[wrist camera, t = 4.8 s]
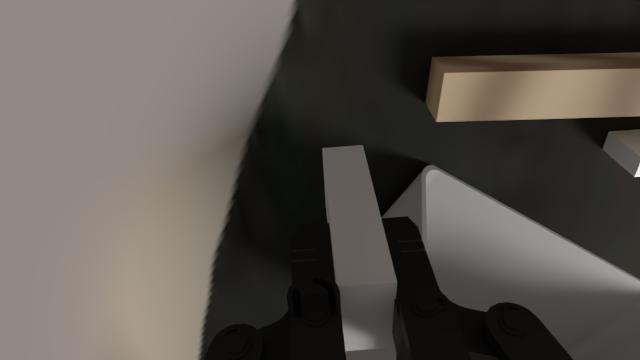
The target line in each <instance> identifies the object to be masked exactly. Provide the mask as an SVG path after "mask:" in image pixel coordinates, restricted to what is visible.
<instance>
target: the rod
mask: <svg viewBox="0 0 640 360" xmlns="http://www.w3.org/2000/svg"><path fill="white" fill-rule="evenodd" d="M426 105H427V107H428V108H429V110H430V112H431V114H432V115H433V117H434V119H435V120H436V122H453V121H489V120H525V119H561V118H597V117H633V116H640V52H634V53H589V54H544V55H498V56H453V57H432V61H431V68H430V75H429V82H428V89H427V96H426Z"/></svg>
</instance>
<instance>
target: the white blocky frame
mask: <svg viewBox="0 0 640 360" xmlns="http://www.w3.org/2000/svg"><path fill="white" fill-rule="evenodd" d="M603 150H604V151H605V152H606V153H608V154H609V155H610V156H611V157H612V158H613V159H614V160H616V161H617V162H618V163H619V164H620V165H621V166H622V167H624V168H625V169H626V170H627V171H628V172H629V173H630V174H632V175H633V176H634V177H640V129H635V130H622V131H609V132H608V135H607V138H606V141H605V144H604V146H603Z"/></svg>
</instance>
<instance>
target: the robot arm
mask: <svg viewBox="0 0 640 360" xmlns="http://www.w3.org/2000/svg"><path fill="white" fill-rule="evenodd" d="M322 153H323V170H324V186H325V202H326V214H327V223H325V224H312V225H298V227H297V229H296V231H295V233H294V234H293V236H292V285H291V286H290V287H289V289H288V293H287V302H288V308H289V310H288V312H287V313H286V314H285V315H284V316H283V317H282V318H281V319H280V320H278V321H277V322H275V323H273V324H271V325H268V326H265V327H263V328H260V329H258V330H257V329H256V328H255V327H253V326H250V325H247V324H234V325H231V326H229V327H226V328H224V329H223V330H222V331H220V332H219V333H218V334H216V336H215V337H214V339H213V340H212V342H211V344H210V346H209V348H208V350H207V353H206V355H205V357H204V360H346V353H345V351H355V350H368V349H380V348H393V339H394V344H395V349H396V353H397V354H396V360H573V358H572V357H571V356H570V355H569V354H568V353H567V351H566V350H565V349H564V348H563V347H562V345H561V344H560V343H559V342H558V341H557V340H556V338H555V337H554V336H553V335H552V334H551V333H550V331H549V330H548V329H547V328H546V327H545V325H544V324H543V323H542V322H541V321H540V320H539V318H538V317H537V316H536V315H535V314H533V313H532V312H531V311H530V310H529V309H527V308H525V307H523V306H521V305H519V304H515V303H510V302H503V303H497V304H495V305H493V306H491V307H490V308H489V309H488V311H487V312H484V311H479V310H474V309H469V308H465V307H462V306H459V305H457V304H455V303H453V302H452V301H450V300H449V299H448V298H447V297H446V296H445V295H444V294H443V293H442V292H441V290H440V288H439V286H438V284H437V281H436V278H435V275H434V272H433V269H432V266H431V263H430V261H429V258H428V255H427V252H426V251H425V246H424V243H423V241H422V237H421V235H420V232H419V229H418V226H417V225H416V224H415V223H414V222H413V221H412V220H411V219H410V218H409V217H408V216H404V217H391V218H381V216H380V212H379V208H378V204H377V200H376V196H375V192H374V188H373V184H372V180H371V176H370V172H369V168H368V164H367V160H366V156H365V152H364V148H363V145H358V146H345V147H331V148H322Z"/></svg>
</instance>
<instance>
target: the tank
mask: <svg viewBox="0 0 640 360" xmlns="http://www.w3.org/2000/svg"><path fill="white" fill-rule="evenodd" d="M404 216H408V217H409V218H410V219H411V220H412V221H413V222H414V223H415V224H416V225H417V226H418V229H419V232H420V235H421V237H422V241H423V243H424V246H425V251H426V252H427V255H428V258H429V261H430V263H431V266H432V269H433V272H434V275H435V278H436V281H437V284H438V286H439V288H440V290H441V292H442V293H443V294H444V295H445V296H446V297H447V298H448V299H449V300H450V301H452V302H453V303H455V304H457V305H459V306H462V307H465V308H469V309H474V310H479V311H484V312H487V311H488V309H489V308H490V307H491V306H493V305H495V304H497V303H503V302H510V303H515V304H519V305H521V306H523V307H525V308H527V309H529V310H530V311H531V312H532V313H533V314H535V315H536V316H537V317H538V318H539V320H540V321H541V322H542V323H543V324H544V325H545V327H546V328H547V329H548V330H549V331H550V333H551V334H552V335H553V336H554V337H555V338H556V340H557V341H558V342H559V343H560V344H561V345H562V347H563V348H564V349H565V350H566V351H567V353H568V354H569V355H570V356H571V357H572V358H573V360H640V279H638V278H637V277H635V276H633V275H631V274H629V273H627V272H626V271H624V270H622V269H620V268H618V267H617V266H615V265H613V264H611V263H609V262H608V261H606V260H604V259H602V258H600V257H599V256H597V255H595V254H593V253H591V252H589V251H588V250H586V249H584V248H582V247H580V246H579V245H577V244H575V243H573V242H571V241H570V240H568V239H566V238H564V237H562V236H561V235H559V234H557V233H555V232H553V231H551V230H550V229H548V228H546V227H544V226H542V225H541V224H539V223H537V222H535V221H533V220H532V219H530V218H528V217H526V216H524V215H523V214H521V213H519V212H517V211H515V210H513V209H512V208H510V207H508V206H506V205H504V204H503V203H501V202H499V201H497V200H495V199H494V198H492V197H490V196H488V195H486V194H484V193H483V192H481V191H479V190H477V189H475V188H474V187H472V186H470V185H468V184H466V183H465V182H463V181H461V180H459V179H457V178H456V177H454V176H452V175H450V174H448V173H446V172H445V171H443V170H441V169H439V168H437V167H436V166H434V165H429V166H427V167H425V168H424V169H423V171H422V172H421V173H420V174H419V175H418V176H417V177H416V179H415V180H414V181H413V182H412V183H411V184H410V185H409V187H408V188H407V189H406V190H405V191H404V192H403V193H402V195H401V196H400V197H399V198H398V199H397V200H396V201H395V203H394V204H393V205H392V206H391V207H390V208H389V209H388V211H387V212H386V213H385V214H384V215H383V216H382V217H381V218H391V217H404ZM345 353H346V360H396V354H397V353H396V349H395V344H394V339H393V348H380V349H368V350H355V351H345Z"/></svg>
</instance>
